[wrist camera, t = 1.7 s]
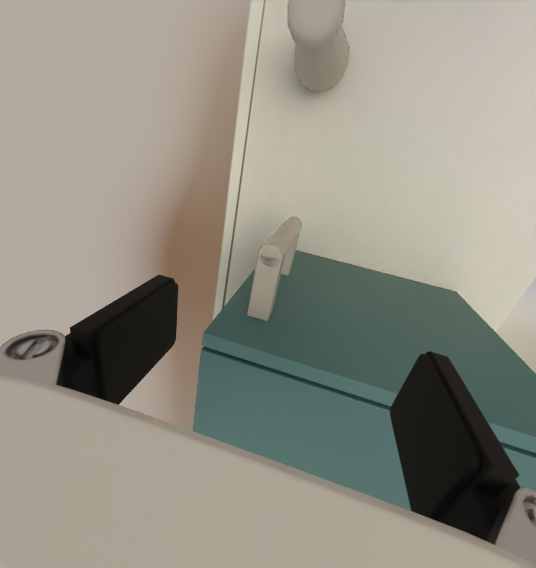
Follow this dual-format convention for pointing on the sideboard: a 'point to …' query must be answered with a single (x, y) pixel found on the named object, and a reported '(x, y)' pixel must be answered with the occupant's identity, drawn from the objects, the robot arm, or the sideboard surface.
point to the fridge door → (369, 333)
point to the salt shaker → (318, 42)
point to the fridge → (310, 426)
